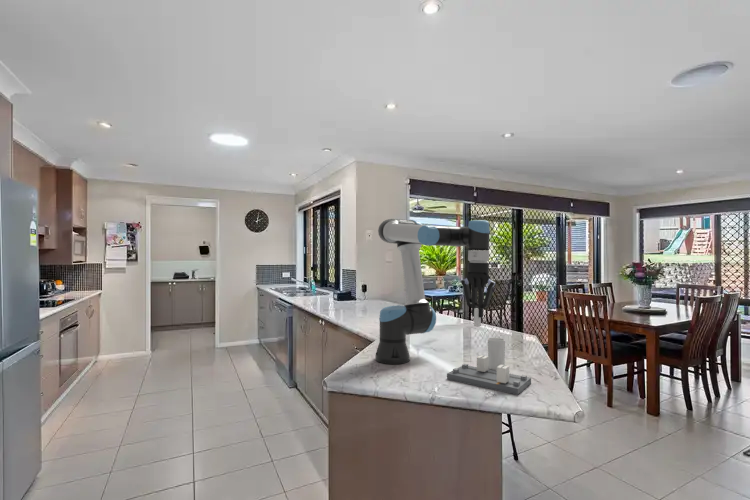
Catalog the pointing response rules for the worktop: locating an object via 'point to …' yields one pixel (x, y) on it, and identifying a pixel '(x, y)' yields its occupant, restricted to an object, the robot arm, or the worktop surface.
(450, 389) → the worktop surface
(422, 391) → the worktop surface
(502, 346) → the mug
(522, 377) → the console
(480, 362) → the fader far
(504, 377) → the fader near
